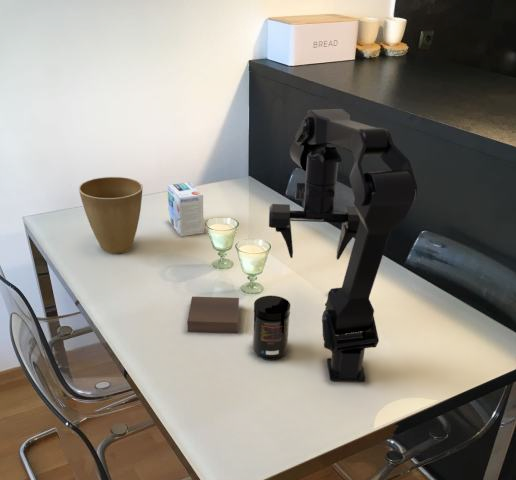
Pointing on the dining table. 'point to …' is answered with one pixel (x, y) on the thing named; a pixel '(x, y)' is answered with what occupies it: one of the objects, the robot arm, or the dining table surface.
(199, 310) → the walnut block
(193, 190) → the light bulb box
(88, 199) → the plant pot
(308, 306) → the dining table surface
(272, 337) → the supplement container
